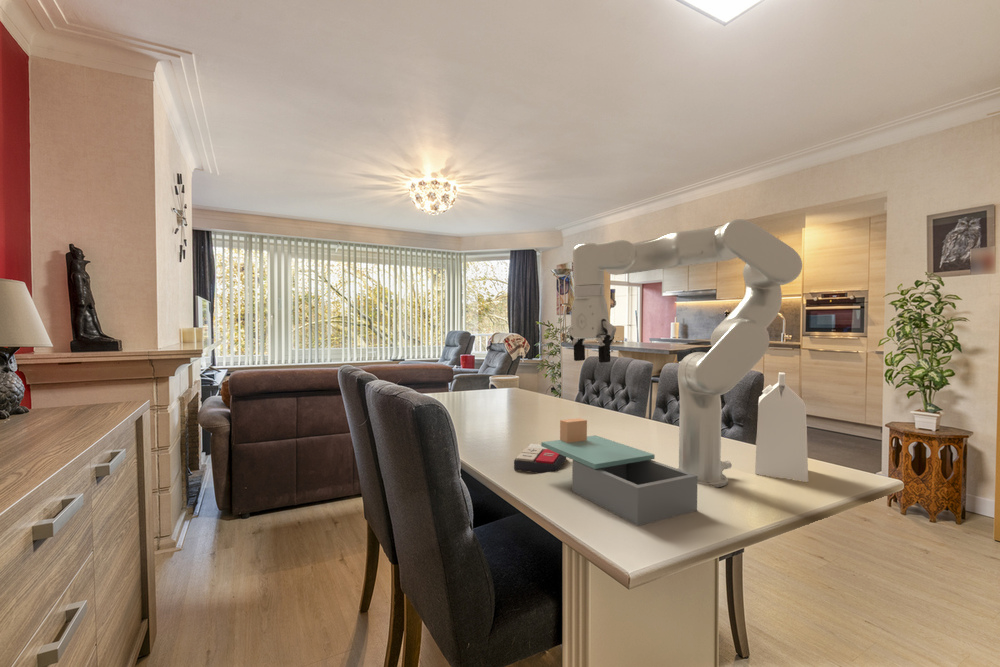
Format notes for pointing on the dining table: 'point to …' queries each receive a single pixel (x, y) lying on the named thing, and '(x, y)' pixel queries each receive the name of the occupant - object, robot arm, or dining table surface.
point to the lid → (592, 447)
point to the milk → (781, 433)
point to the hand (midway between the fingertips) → (591, 361)
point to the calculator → (538, 459)
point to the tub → (637, 490)
